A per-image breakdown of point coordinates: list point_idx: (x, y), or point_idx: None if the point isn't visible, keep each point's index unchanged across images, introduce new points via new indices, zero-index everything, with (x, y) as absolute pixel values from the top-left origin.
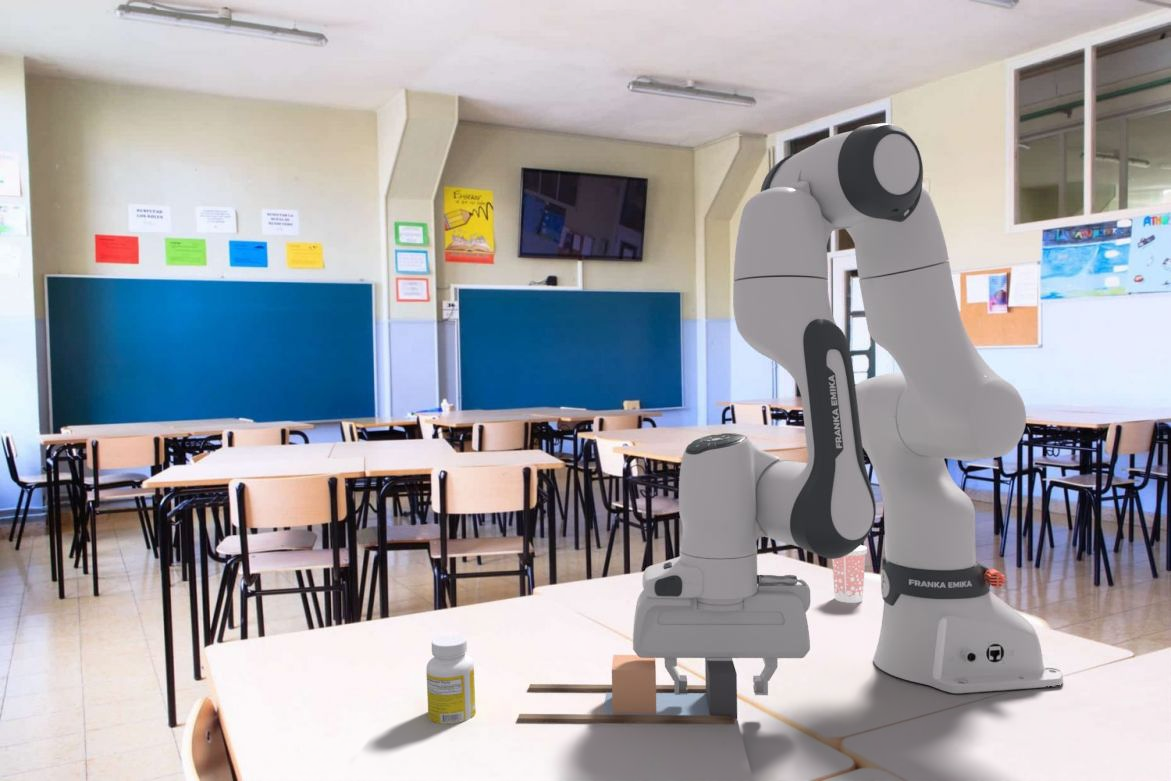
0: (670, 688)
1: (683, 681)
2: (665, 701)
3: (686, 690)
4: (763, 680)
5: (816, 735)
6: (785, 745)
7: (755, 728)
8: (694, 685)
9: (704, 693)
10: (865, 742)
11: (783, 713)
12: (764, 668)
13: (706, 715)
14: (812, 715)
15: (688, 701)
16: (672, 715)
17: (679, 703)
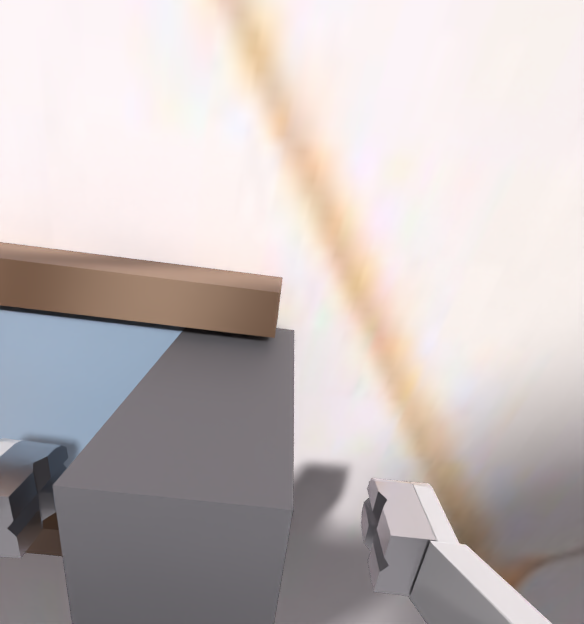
0: (5, 303)
1: (3, 554)
2: (9, 390)
3: (51, 512)
4: (416, 603)
5: (478, 548)
6: (371, 581)
7: (324, 501)
8: (124, 278)
9: (176, 332)
10: (580, 586)
11: (454, 421)
12: (472, 596)
13: None
14: (541, 443)
15: (104, 402)
16: (43, 529)
17: (68, 414)
